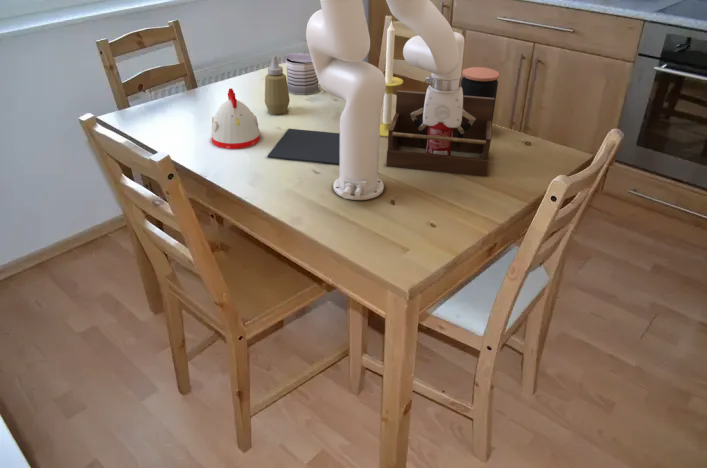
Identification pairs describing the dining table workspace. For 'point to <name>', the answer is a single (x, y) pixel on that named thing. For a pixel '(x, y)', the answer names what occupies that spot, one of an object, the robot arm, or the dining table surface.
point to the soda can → (439, 145)
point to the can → (301, 74)
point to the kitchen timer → (234, 125)
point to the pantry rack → (440, 137)
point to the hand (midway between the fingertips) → (440, 143)
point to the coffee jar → (480, 83)
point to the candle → (389, 82)
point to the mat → (308, 147)
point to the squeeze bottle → (276, 89)
